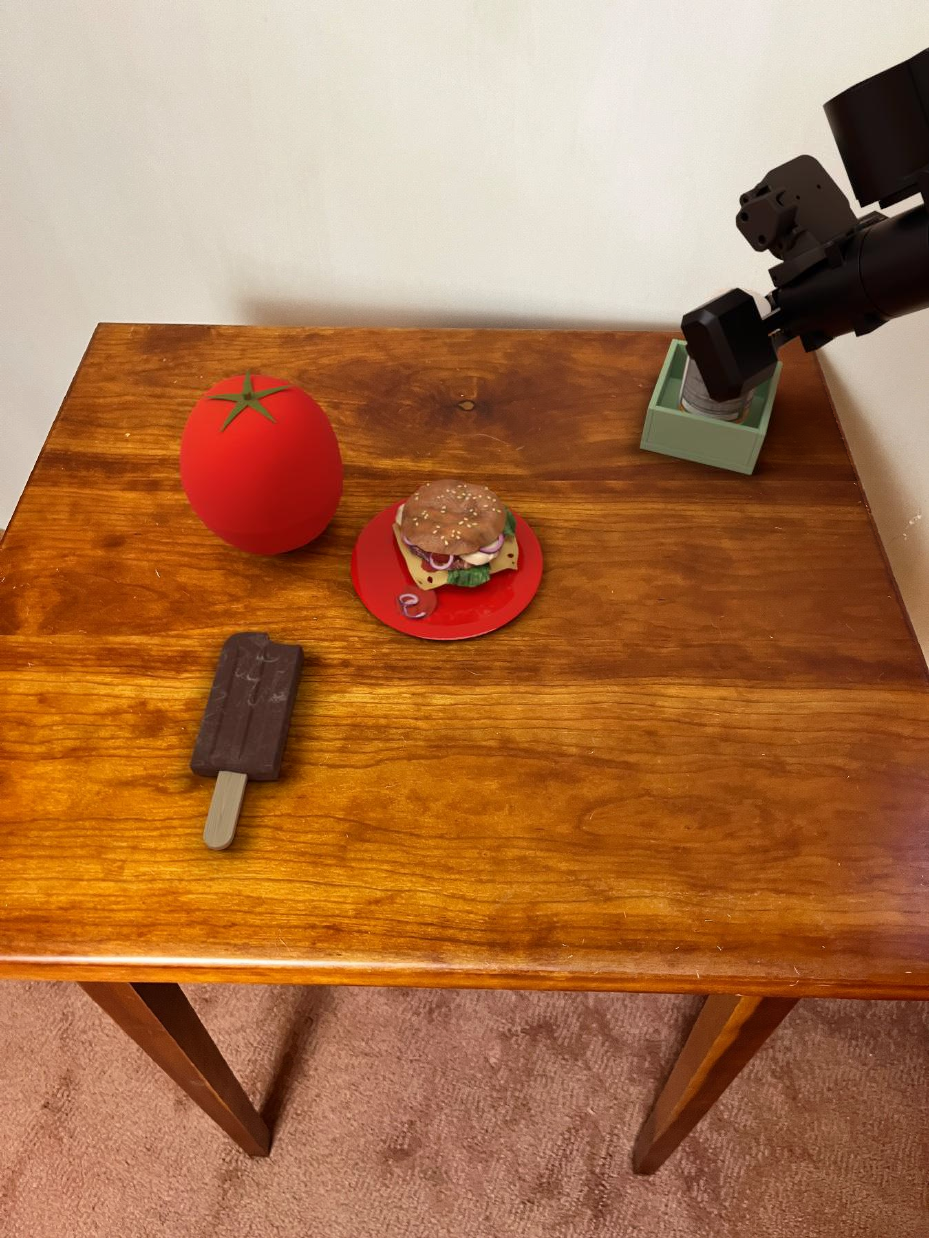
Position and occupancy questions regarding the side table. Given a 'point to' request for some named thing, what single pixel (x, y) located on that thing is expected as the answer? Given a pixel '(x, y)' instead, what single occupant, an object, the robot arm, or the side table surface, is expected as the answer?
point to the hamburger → (447, 562)
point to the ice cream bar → (245, 724)
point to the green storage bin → (704, 422)
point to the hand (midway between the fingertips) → (716, 335)
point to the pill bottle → (694, 389)
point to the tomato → (261, 464)
